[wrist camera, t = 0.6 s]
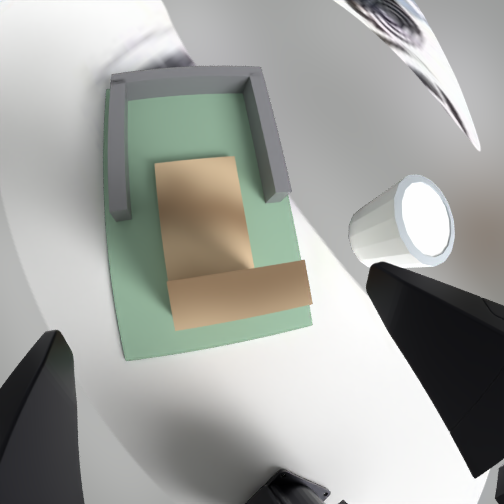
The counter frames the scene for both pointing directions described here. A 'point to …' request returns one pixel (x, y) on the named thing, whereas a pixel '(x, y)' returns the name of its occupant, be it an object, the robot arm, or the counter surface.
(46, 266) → the counter surface
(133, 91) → the pocket
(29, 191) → the counter surface
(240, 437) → the counter surface
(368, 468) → the counter surface
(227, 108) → the mat
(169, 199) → the bookend
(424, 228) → the white cup
